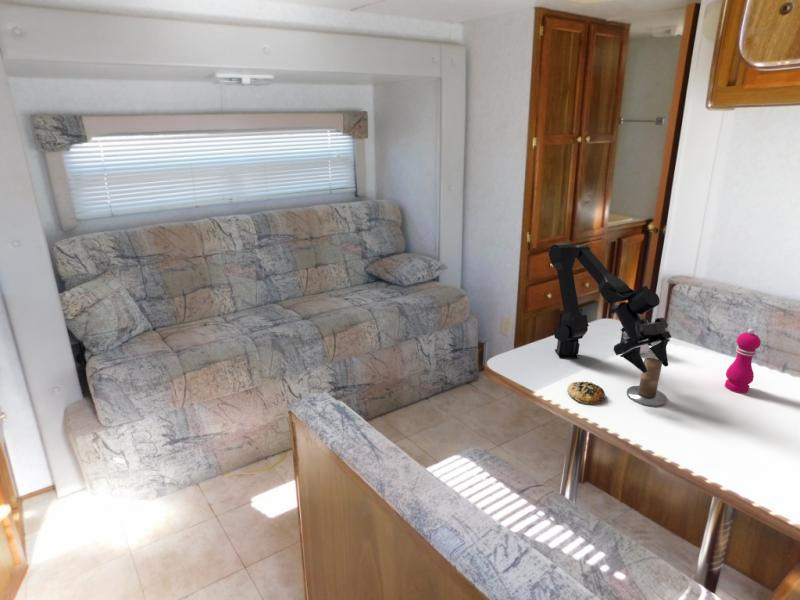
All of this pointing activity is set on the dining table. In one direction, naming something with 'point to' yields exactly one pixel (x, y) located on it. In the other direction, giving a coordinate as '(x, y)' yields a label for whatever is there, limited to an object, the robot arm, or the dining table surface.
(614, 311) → the robot arm
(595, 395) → the bread roll
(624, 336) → the medicine bottle
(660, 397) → the pad
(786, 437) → the dining table surface
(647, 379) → the walnut post
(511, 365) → the dining table surface
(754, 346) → the pepper mill
